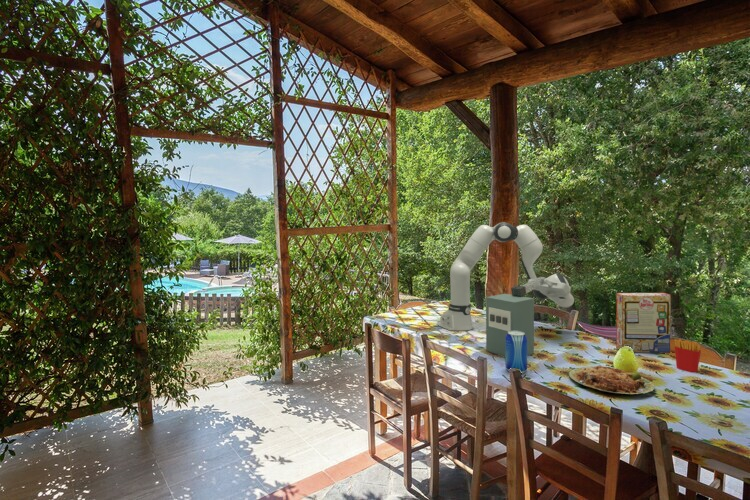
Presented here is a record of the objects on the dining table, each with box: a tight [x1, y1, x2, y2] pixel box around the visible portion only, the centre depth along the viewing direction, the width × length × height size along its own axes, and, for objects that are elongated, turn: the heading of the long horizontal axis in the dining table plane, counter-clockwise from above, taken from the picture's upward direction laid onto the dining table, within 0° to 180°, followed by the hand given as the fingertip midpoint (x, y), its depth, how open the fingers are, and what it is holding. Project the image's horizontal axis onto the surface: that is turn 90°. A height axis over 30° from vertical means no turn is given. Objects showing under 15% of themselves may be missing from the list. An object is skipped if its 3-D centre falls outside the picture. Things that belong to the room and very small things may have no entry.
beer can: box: [504, 331, 528, 375], centre depth 157 cm, size 8×8×16 cm
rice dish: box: [568, 364, 656, 395], centre depth 144 cm, size 28×28×5 cm
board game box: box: [615, 292, 672, 354], centre depth 177 cm, size 20×6×27 cm, turn 80°
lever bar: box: [510, 276, 547, 297], centre depth 187 cm, size 5×22×4 cm, turn 124°
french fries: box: [673, 338, 702, 374], centre depth 154 cm, size 8×4×12 cm, turn 33°
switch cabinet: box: [485, 293, 535, 358], centre depth 179 cm, size 16×16×26 cm
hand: (539, 279), depth 191 cm, fingers closed on lever bar, 3 cm apart
